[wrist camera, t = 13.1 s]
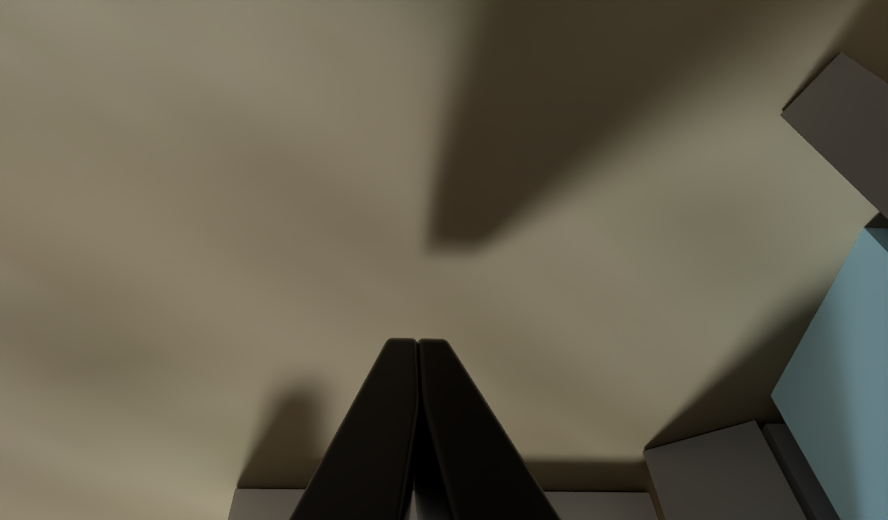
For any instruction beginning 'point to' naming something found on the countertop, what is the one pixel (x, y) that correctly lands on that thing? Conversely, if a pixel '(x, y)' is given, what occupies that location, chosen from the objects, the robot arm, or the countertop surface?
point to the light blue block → (845, 384)
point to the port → (774, 448)
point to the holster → (268, 511)
